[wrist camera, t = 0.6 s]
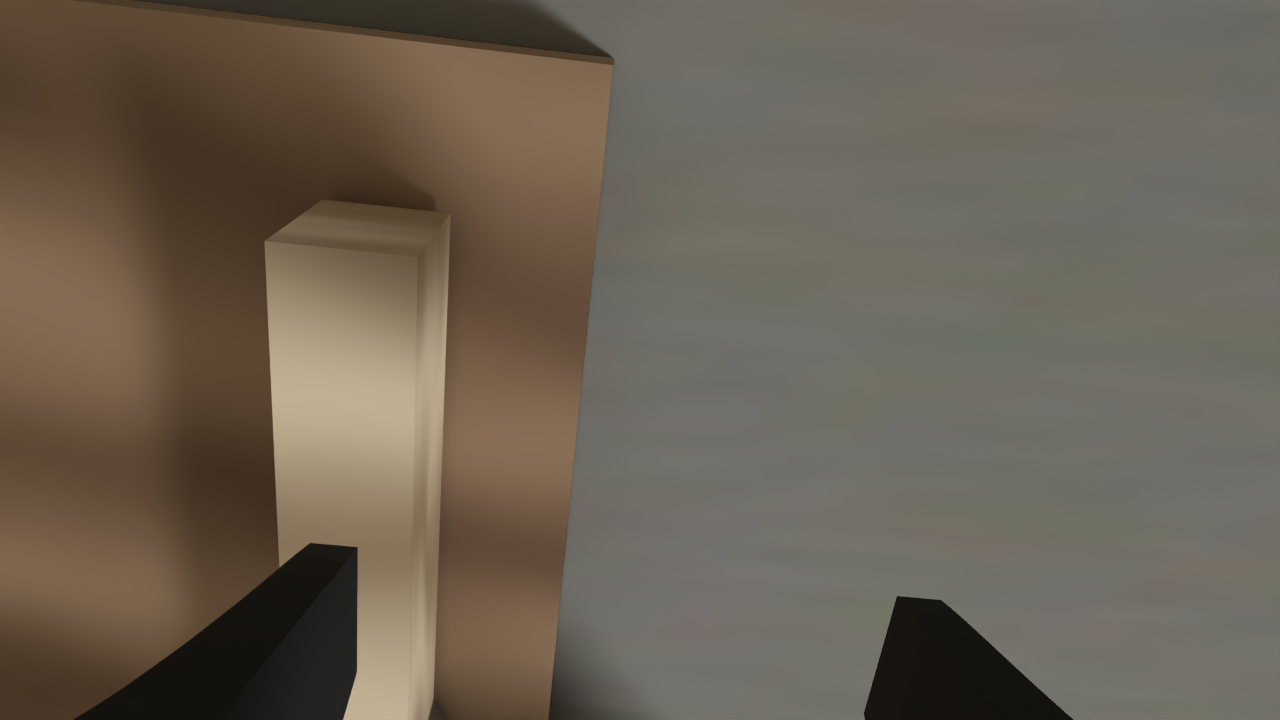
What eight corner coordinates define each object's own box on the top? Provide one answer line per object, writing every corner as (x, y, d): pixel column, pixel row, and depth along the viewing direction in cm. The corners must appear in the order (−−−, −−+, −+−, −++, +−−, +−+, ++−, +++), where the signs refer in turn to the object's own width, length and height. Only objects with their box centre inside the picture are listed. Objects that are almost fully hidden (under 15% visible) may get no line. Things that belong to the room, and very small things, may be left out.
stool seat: (541, 788, 26) (525, 956, 21) (-194, 739, 24) (-375, 906, 20) (613, 58, 18) (612, 80, 14) (-450, -71, 17) (-836, -91, 12)
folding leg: (446, 781, 23) (422, 892, 20) (318, 772, 22) (275, 883, 20) (471, 215, 17) (443, 259, 14) (300, 197, 17) (238, 238, 14)
